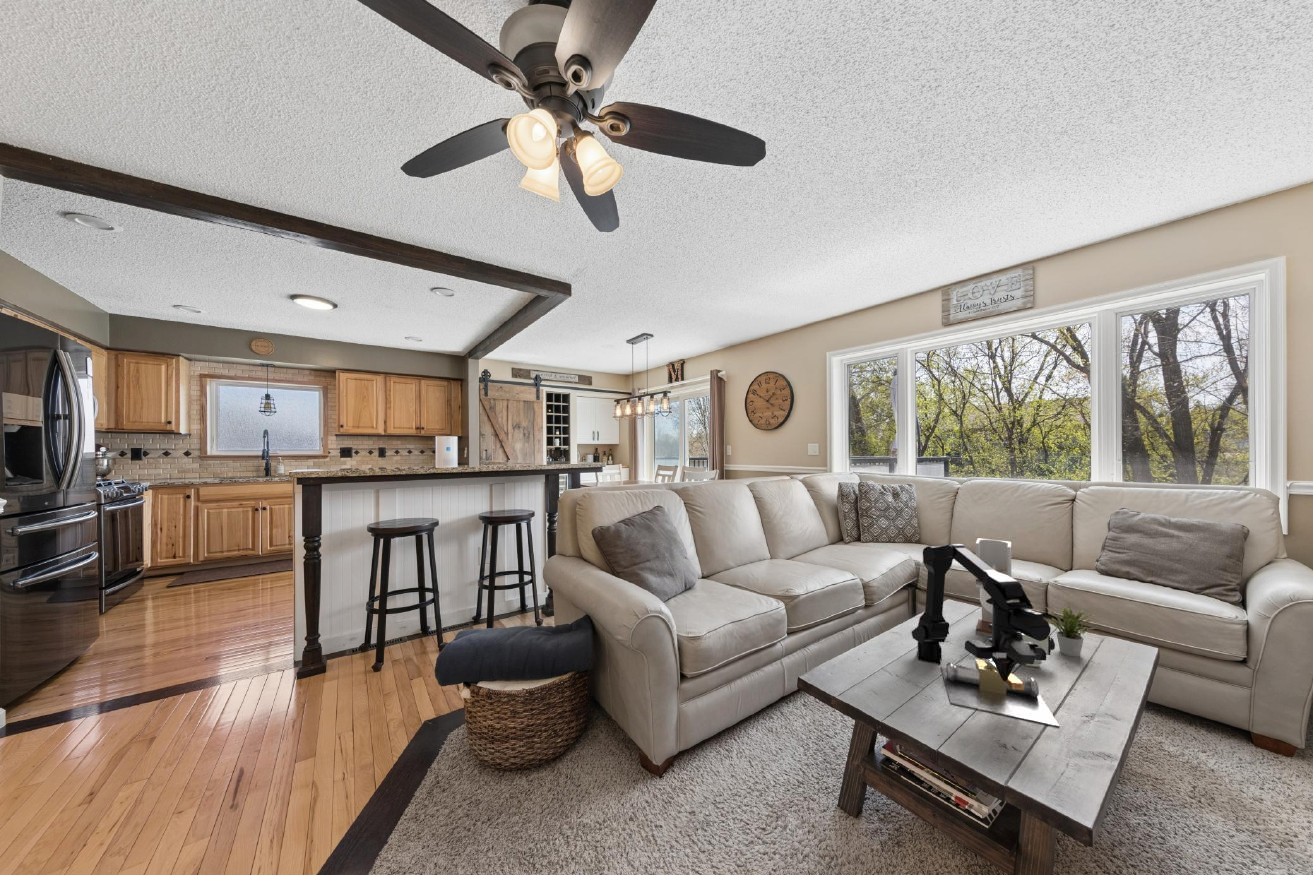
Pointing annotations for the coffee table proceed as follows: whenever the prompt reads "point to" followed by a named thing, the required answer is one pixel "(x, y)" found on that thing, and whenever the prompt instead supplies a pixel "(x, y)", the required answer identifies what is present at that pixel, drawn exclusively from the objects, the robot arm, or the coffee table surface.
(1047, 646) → the pneumatic valve
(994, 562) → the white shelf tower
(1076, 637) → the house plant
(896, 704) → the coffee table surface
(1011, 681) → the valve lever
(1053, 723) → the pipe on metal plate
